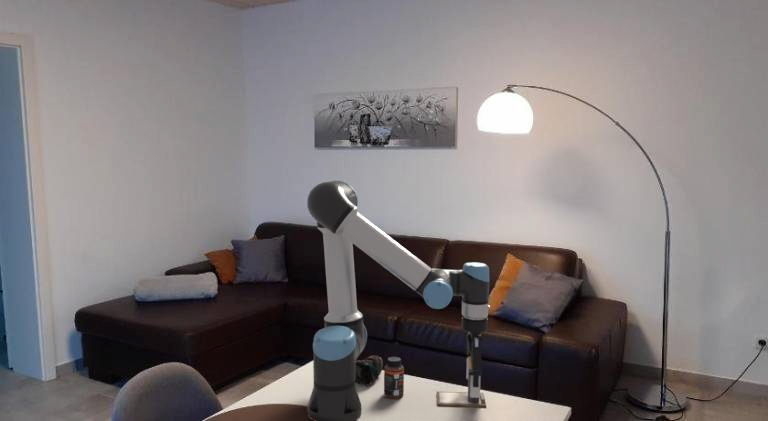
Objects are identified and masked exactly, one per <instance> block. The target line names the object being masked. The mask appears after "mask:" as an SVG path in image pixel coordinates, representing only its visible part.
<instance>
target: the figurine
mask: <svg viewBox="0 0 768 421" xmlns="http://www.w3.org/2000/svg"><path fill="white" fill-rule="evenodd" d="M383 362H384V361H383V359H382V357H380V356H378V355H370V356H368V357H366V358H365V359H361V360H359V359H357V360H356V363H355V384H359V385H360V384H361V385H364V386H371V384H372V382H373V380H374V378H379V375H380V374H381V373H382V371H383V369H384V368H383V367H384V363H383Z"/></svg>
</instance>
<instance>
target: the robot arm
mask: <svg viewBox="0 0 768 421" xmlns="http://www.w3.org/2000/svg"><path fill="white" fill-rule="evenodd" d="M358 203H359V198H358V195H357V191H356V190H355V189H354V188H353V187H352V186H351V185H350V184H348V183H347V182H344V181H341V180H331V181H325V182H324V181H323V182H321V183H318V184H316V185H315V186H314V187H313V188H311V190H310V192H309V194H308V196H307V202H306V204H307V209H308V212H309V214H310V215H311V217H312V218H313V219H314V220H315V221H316V227H317V230H319V231H320V232H321V233H322V238H323V249H324V250H323V252H324V264H325V265H324V267H325V268H324V269H325V278H326V280H325V282H326V294H327V304H328V307H327V308H328V313H327V314H326V315H325V316H324V317H323V320H324V321H323V322H324V327H323V328H321V329H318V331H316V332H315V334H314V336H313V342H312V351H313V356H312V357H313V360H312V361H313V364H312V365H313V388H312V390H311V394H310V397H309V400H308V403H307V413H308V415H309V417H310V418H312V419H313V420H316V421H356V420H358V419H359V418H360V417H361V415H362V403H361V399H360V396H359V393H358V390H357V387H356V383H355V363H356V361H358V360H359V359H358V358H359V357H360V355H361V353H362V352H363V351H364V349H365V348H366V345H367V340H368V332H367V328H366V326H365V325H364V315H363V313H362V312H361V311H359V309H358V303H357V302H358V301H357V288H356V272H355V260H354V259H355V258H354V246H353V245H355V247H357V248H358V249H360V250H361V251H362V252H363V253H365V254H366V255H367V256H369V257H370V258H372V259H373V260H374V261H375V262H376V263H378V264H379V265H380V266H381V267H383V268H384V269H386V270H387V271H389V273H391V274H392V275H394V277H396V278H398V280H400V281H402V282H403V284H406V285H407V286H408V287H409V288H411V289H412V290H413V291H414V292H416V293H417V294H418V295H420V296H421V297H422V298H423V300H424V302H425V304H426V305H427V306H429V307H430V308H432V309H436V310H440V309H444V308H446V307H447V306H448V305H449V304H450V302H452V298H453V297H454V296H456V297H460V296H461V297H462V299H461V315H462V317H461V329H462V330H463V331H464V332H467V335H466V343H467V344H466V349H465V350H466V352H465V353H466V370H465V371H466V375H465V376H466V377H465V379H466V380H468V371H469V368H468V357H469V356H471V372H469V375H471V380H470V397H473V398H480V393H481V377H482V374H483V372H482V342H483V339H482V333H486V332H487V331H488V329H489V318H488V316H489V310H490V309H491V305H489V299H490V298H489V297H490V296H489V294H490V268H489V266H488V265H487V264H486V263H483V262H476V261H475V262H474V261H473V262H465V263H464V264H463V266H462V269H446V268H445V269H444V268H436V267H433V268H431V267H430V266H429V265H428V264H426V263H425V262H423V261H422V260H421V259H420V258H418V256H416V255H414V254H413V253H412V252H410V251H409V250H408V249H407V248H405V247H404V246H402V245H401V244H400V243H399V242H397V241H396V240H395V239H393V238H392V237H391V236H390V235H388V234H387V233H386V232H384V231H383V230H381V229H380V228H379V227H378V226H376V225H375V224H374V223H372V222H371V221H370V220H369V219H368V218H366V217H364V216H363V215H362V214H361V213H359V209H358ZM308 415H307V416H308ZM309 417H308V418H309Z"/></svg>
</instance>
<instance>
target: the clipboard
mask: <svg viewBox="0 0 768 421" xmlns="http://www.w3.org/2000/svg"><path fill="white" fill-rule="evenodd" d="M484 394H485V393H484V392H480V398H479V403H469V402H468V391H467V392H466V391H465V392H464V391H462V392H461V391H460V392H459V391H436V402H437V403H436V404H437V407H461V408H463V407H464V408H487V402H486V398H485V395H484Z"/></svg>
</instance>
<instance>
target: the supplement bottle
mask: <svg viewBox="0 0 768 421" xmlns="http://www.w3.org/2000/svg"><path fill="white" fill-rule="evenodd" d="M386 363H387V364H386V365H384V368H383V369H384V370H383V372H384V373H383V375H384V376H383V379H384V380H383V394H384V397H386V398H389V399H400V398H402V397H403V396H404V392H405V391H404V390H405V389H404V388H405V386H404V383H405V382H404V380H405V368H404V365H402V359H401V358H400V357H397V356H391V357H390V356H389V357H388V358H387V362H386Z"/></svg>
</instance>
